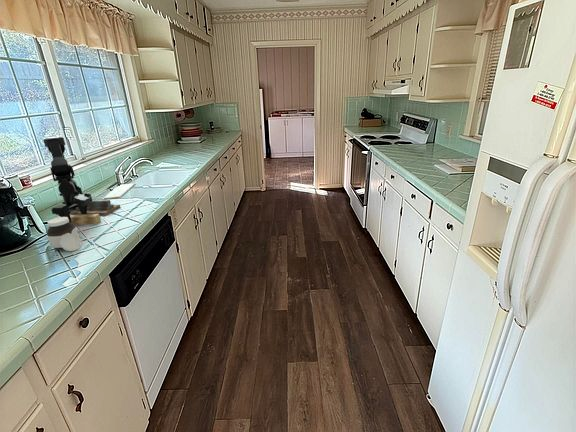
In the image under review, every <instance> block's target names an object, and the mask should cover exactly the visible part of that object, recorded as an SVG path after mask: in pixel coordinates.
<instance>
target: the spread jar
mask: <svg viewBox="0 0 576 432" xmlns="http://www.w3.org/2000/svg"><path fill="white" fill-rule="evenodd" d="M54 218H55V219H54ZM54 218H52V219H50V220H48V221H47V224H48V228H47V230H46V237H47V241H48V243H49V245H50V247H51V248H52V249H54V250H57V251H67V252H73V251H76V250H78V249H80V247H81V244H82V240H81V237H80V234H79V231H78V229H77V226H76V225H74V224H73V223H71V222H69V219H68V217H59V218H56V217H54Z"/></svg>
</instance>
